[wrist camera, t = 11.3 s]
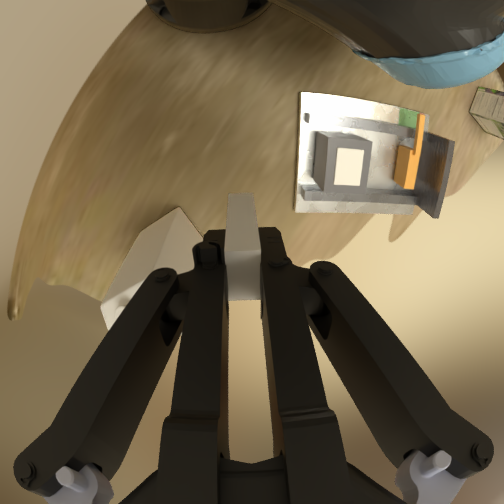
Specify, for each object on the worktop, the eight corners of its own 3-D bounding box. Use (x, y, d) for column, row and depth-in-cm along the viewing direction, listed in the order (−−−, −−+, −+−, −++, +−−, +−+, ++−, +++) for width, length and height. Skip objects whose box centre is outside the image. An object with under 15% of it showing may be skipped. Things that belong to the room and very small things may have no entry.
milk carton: (209, 246, 38) (195, 362, 22) (170, 267, 39) (140, 379, 23) (179, 205, 34) (136, 310, 18) (139, 231, 36) (85, 336, 20)
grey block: (316, 130, 29) (329, 137, 25) (356, 134, 29) (373, 142, 25) (313, 179, 32) (324, 193, 28) (351, 181, 32) (366, 194, 28)
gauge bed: (299, 92, 27) (316, 91, 21) (424, 113, 28) (457, 123, 22) (293, 208, 35) (305, 235, 29) (408, 211, 36) (434, 234, 30)
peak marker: (402, 110, 27) (417, 113, 24) (412, 112, 27) (427, 116, 24) (393, 181, 32) (406, 190, 29) (402, 182, 32) (416, 191, 29)
